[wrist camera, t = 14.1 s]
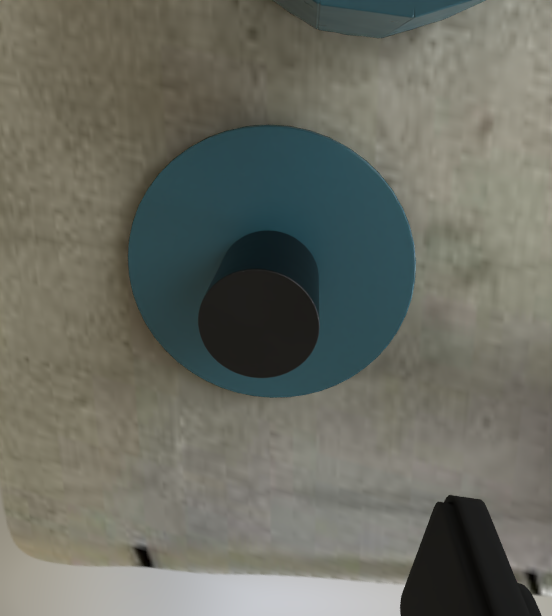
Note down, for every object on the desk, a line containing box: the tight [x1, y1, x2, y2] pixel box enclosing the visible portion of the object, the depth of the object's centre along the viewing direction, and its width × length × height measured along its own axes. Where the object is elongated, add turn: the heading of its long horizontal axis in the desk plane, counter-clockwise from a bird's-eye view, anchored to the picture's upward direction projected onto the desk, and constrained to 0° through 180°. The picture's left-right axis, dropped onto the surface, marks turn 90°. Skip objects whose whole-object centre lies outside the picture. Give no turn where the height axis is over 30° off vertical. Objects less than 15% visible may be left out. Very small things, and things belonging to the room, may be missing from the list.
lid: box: [128, 124, 416, 398], centre depth 23 cm, size 15×15×7 cm
